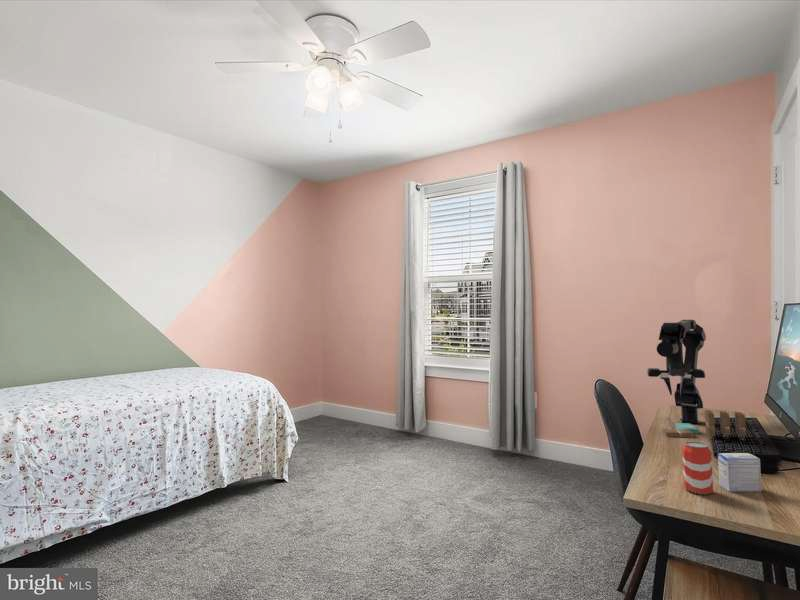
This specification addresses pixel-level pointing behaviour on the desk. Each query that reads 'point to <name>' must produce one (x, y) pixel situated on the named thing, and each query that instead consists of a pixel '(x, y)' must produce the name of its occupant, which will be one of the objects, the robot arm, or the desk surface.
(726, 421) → the domino
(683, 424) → the end domino
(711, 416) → the domino
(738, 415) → the domino
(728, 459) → the medicine box
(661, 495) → the desk surface
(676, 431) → the domino
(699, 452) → the beverage can
